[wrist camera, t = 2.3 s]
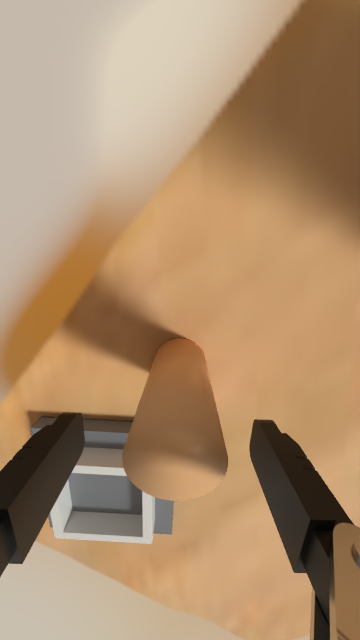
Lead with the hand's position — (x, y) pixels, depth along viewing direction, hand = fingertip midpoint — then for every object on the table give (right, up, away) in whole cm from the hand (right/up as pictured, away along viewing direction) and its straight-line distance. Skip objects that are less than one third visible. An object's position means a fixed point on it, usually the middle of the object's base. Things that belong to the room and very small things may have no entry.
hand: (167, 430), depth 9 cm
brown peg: (+1, +2, +6) cm, 6 cm away
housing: (-6, -9, +9) cm, 14 cm away
